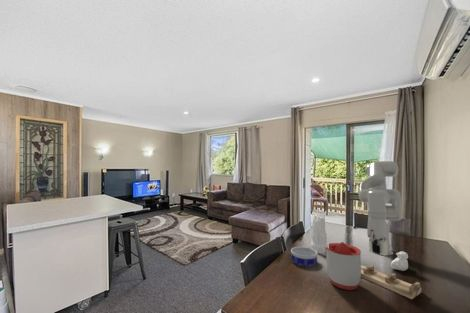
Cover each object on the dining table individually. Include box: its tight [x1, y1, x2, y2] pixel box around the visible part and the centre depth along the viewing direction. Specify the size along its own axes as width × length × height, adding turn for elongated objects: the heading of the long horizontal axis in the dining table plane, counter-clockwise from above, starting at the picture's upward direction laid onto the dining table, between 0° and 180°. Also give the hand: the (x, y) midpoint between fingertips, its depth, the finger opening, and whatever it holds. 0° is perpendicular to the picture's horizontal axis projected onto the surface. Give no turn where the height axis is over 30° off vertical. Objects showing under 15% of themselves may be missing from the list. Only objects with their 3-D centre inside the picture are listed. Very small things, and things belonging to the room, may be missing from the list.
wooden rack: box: [360, 264, 422, 300], centre depth 106 cm, size 10×30×4 cm, turn 30°
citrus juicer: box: [321, 241, 362, 291], centre depth 103 cm, size 16×17×20 cm
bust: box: [390, 250, 409, 272], centre depth 117 cm, size 12×8×11 cm
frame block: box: [368, 237, 388, 257], centre depth 106 cm, size 3×7×6 cm, turn 30°
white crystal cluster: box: [310, 212, 329, 255], centre depth 145 cm, size 11×11×25 cm
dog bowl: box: [290, 246, 318, 267], centre depth 128 cm, size 15×15×6 cm
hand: (378, 251), depth 106 cm, fingers closed on frame block, 3 cm apart
